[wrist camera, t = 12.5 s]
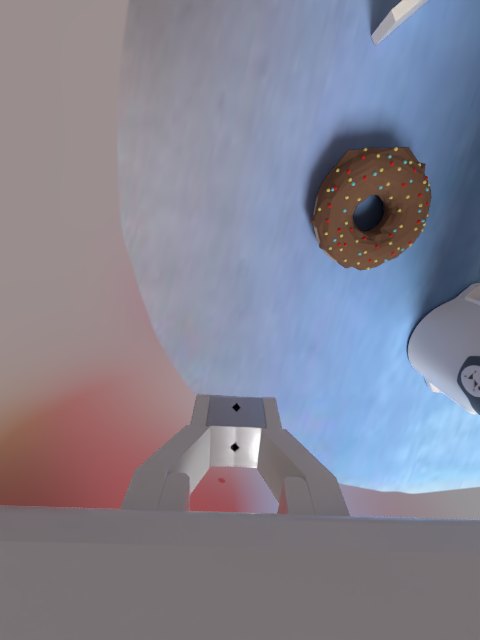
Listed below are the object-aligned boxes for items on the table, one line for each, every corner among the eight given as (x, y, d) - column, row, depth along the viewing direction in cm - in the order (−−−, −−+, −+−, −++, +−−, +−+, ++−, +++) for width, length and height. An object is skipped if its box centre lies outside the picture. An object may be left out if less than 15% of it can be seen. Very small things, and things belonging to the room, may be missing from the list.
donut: (423, 235, 36) (451, 239, 31) (328, 280, 38) (341, 290, 34) (398, 122, 31) (426, 107, 26) (290, 181, 33) (299, 176, 29)
